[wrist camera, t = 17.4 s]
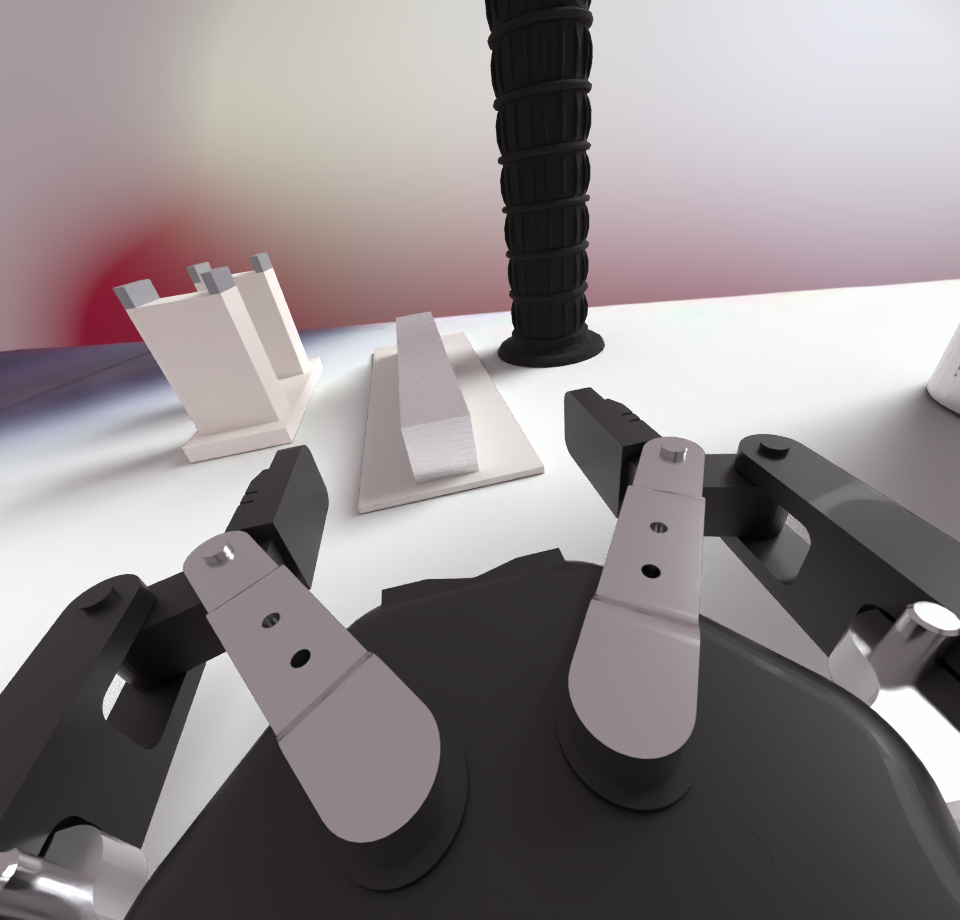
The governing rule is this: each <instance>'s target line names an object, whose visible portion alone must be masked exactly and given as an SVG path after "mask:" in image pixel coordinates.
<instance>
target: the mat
mask: <svg viewBox="0 0 960 920" xmlns="http://www.w3.org/2000/svg"><path fill="white" fill-rule="evenodd" d="M441 340H442V342H443V345H444V348H445V350H446V353H447V355H448V358H449V361H450V363H451V366H452V368H453V371H454V374H455V376H456V379H457V381H458V384H459V387H460V389H461V392H462V394H463V397H464V399H465V402H466V405H467V407H468V410H469V412H470V416H471V422H472V429H473V435H474V441H475V447H476V453H477V459H478V465H479V471H476V472H472V473H467V474H463V475H458V476H453V477H449V478H444V479H440V480H435V481H431V482H426V483H421V484H417V485H416V481H415V478H414V474H413V471H412V467H411V463H410V460H409V456H408V453H407V449H406V445H405V442H404V438H403V434H402V431H401V421H400V398H399V375H398V353H397V345H394V346H389V347H383V348H378V349H375V351H374V360H373V370H372V379H371V389H370V398H369V408H368V417H367V427H366V436H365V446H364V455H363V464H362V474H361V483H360V493H359V502H358V509H359V512H360V514H361V513H366V512H370V511H375V510H379V509H384V508H388V507H393V506H397V505H401V504H406V503H410V502H415V501H419V500H424V499H428V498H433V497H437V496H441V495H446V494H450V493H455V492H459V491H464V490H468V489H473V488H477V487H481V486H486V485H490V484H495V483H499V482H504V481H508V480H513V479H517V478H521V477H526V476H530V475H535V474H539V473H544V466H543V464H542V462H541V461H540V459H539V457H538V456H537V454H536V452H535V451H534V449H533V447H532V446H531V444H530V442H529V441H528V439H527V437H526V436H525V434H524V432H523V431H522V429H521V427H520V426H519V424H518V422H517V421H516V419H515V417H514V416H513V414H512V412H511V411H510V409H509V407H508V406H507V404H506V402H505V401H504V399H503V397H502V396H501V394H500V392H499V391H498V389H497V387H496V386H495V384H494V382H493V381H492V379H491V377H490V376H489V374H488V372H487V371H486V369H485V368H484V366H483V364H482V363H481V361H480V359H479V358H478V356H477V354H476V353H475V351H474V349H473V348H472V346H471V344H470V343H469V341H468V339H467V338H466V336H465V334H464V333H457V334H452V335H447V336H442V337H441Z"/></svg>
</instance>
